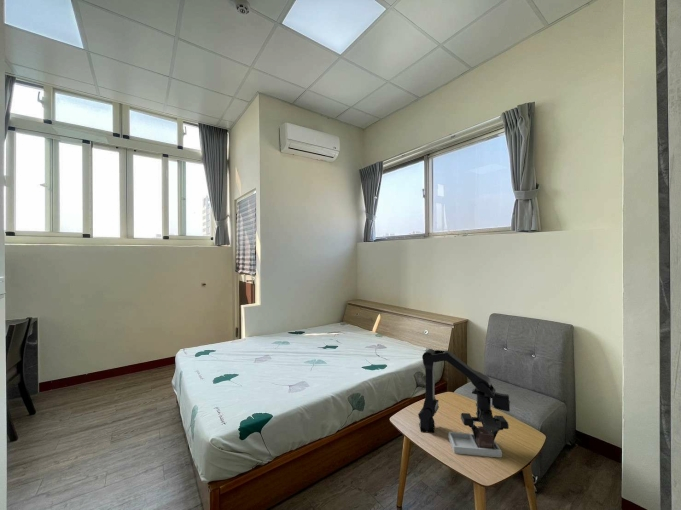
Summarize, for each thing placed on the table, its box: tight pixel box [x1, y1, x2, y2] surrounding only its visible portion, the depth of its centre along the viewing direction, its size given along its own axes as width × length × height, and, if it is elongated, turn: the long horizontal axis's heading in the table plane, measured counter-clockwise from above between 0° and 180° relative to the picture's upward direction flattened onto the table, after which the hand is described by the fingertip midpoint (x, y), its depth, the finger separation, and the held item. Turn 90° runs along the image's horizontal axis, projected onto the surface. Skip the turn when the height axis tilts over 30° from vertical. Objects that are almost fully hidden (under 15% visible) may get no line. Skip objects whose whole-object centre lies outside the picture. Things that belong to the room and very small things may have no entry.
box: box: [475, 425, 495, 449], centre depth 123 cm, size 6×6×7 cm
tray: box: [447, 431, 503, 458], centre depth 123 cm, size 20×11×3 cm, turn 82°
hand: (484, 439), depth 123 cm, fingers open, 7 cm apart
